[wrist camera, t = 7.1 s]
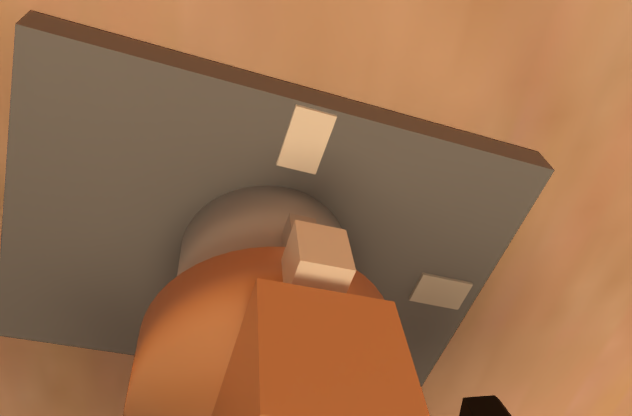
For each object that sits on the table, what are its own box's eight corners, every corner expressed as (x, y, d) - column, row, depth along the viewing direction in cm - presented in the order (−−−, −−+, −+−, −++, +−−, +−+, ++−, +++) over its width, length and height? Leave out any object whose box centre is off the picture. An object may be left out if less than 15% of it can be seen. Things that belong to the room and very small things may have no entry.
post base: (6, 310, 17) (-50, 427, 14) (30, 10, 13) (-45, 78, 10) (408, 372, 21) (440, 480, 17) (538, 152, 16) (614, 238, 13)
